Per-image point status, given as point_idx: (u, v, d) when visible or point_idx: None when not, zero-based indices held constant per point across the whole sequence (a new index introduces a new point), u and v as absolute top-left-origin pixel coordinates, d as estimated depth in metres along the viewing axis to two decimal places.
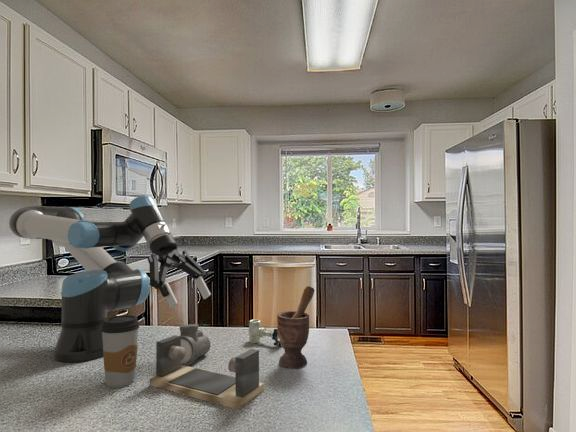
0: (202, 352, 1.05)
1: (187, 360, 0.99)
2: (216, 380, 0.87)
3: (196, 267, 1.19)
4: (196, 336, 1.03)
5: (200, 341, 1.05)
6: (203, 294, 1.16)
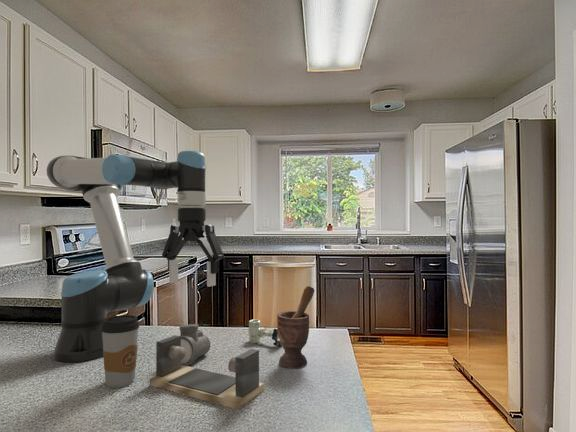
0: (202, 352, 1.05)
1: (187, 360, 0.99)
2: (216, 380, 0.87)
3: None
4: (196, 336, 1.03)
5: (200, 341, 1.05)
6: None
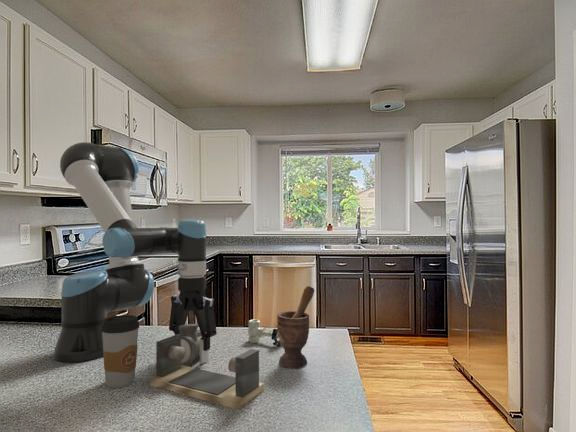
0: None
1: (186, 360, 0.99)
2: (216, 380, 0.87)
3: None
4: (195, 336, 1.03)
5: None
6: None
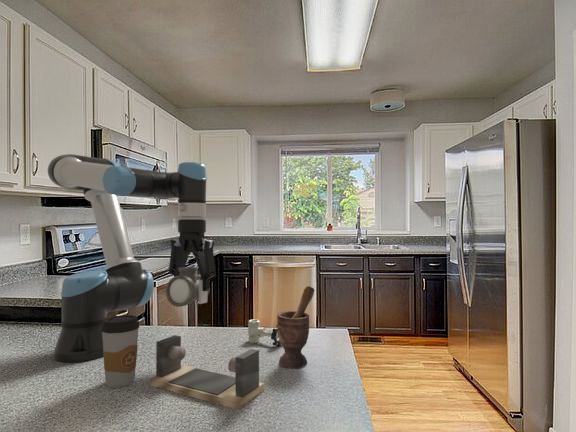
0: None
1: (185, 299, 0.99)
2: (216, 380, 0.87)
3: None
4: (195, 278, 1.04)
5: None
6: None
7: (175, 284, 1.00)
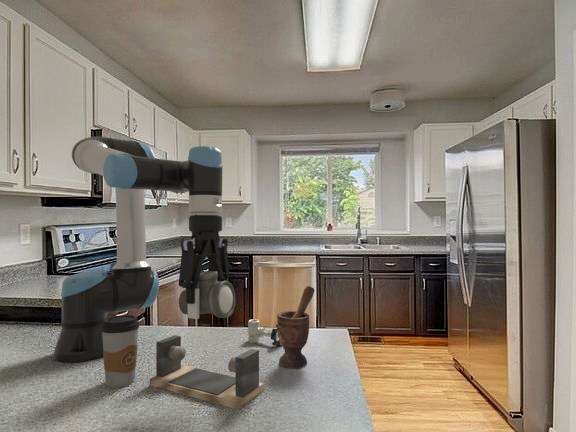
0: None
1: (231, 305, 0.87)
2: (216, 380, 0.87)
3: (224, 266, 0.92)
4: None
5: None
6: None
7: (225, 292, 0.84)
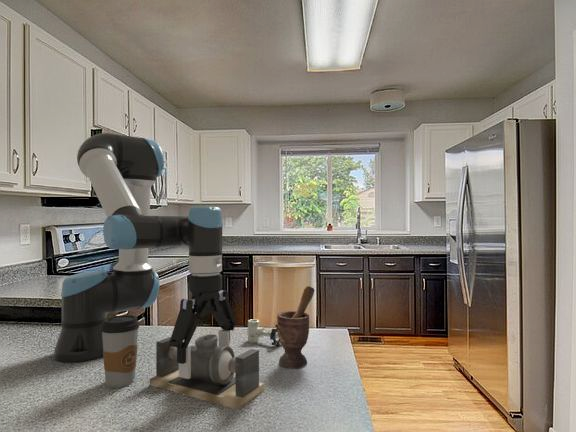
0: None
1: None
2: None
3: (229, 315, 0.94)
4: None
5: None
6: None
7: (224, 359, 0.84)
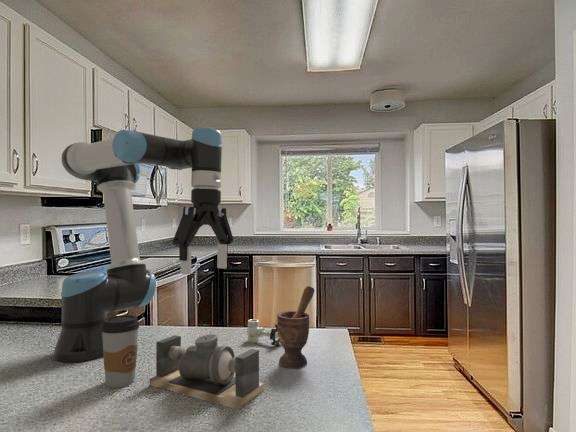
0: None
1: None
2: None
3: (227, 231, 1.05)
4: None
5: None
6: (219, 263, 1.04)
7: (224, 359, 0.84)
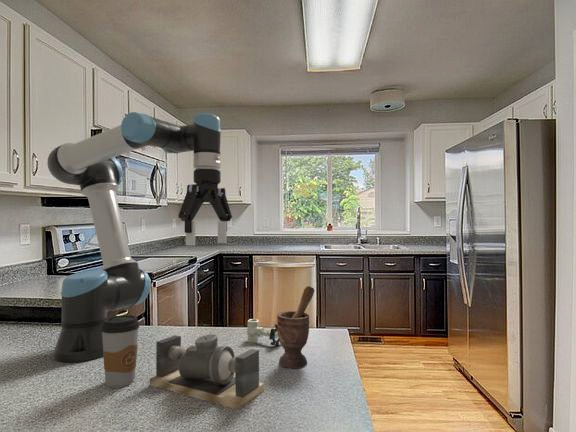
0: None
1: None
2: None
3: (226, 209, 1.15)
4: None
5: None
6: (219, 238, 1.14)
7: (224, 359, 0.84)
